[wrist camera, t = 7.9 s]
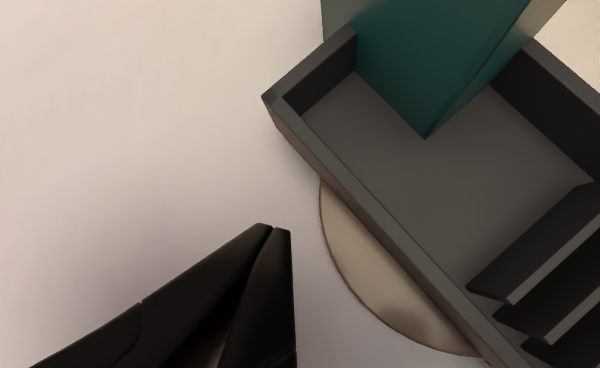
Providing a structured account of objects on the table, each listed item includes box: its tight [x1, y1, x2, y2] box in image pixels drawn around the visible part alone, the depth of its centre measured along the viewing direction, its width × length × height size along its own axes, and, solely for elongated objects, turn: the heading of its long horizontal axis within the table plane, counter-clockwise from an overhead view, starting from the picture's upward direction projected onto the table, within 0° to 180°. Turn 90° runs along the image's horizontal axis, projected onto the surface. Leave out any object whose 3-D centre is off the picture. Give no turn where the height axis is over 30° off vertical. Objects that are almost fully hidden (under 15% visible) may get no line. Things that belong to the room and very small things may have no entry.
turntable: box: [319, 177, 483, 358], centre depth 16 cm, size 13×13×1 cm
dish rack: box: [261, 0, 600, 368], centre depth 10 cm, size 8×18×12 cm, turn 41°
